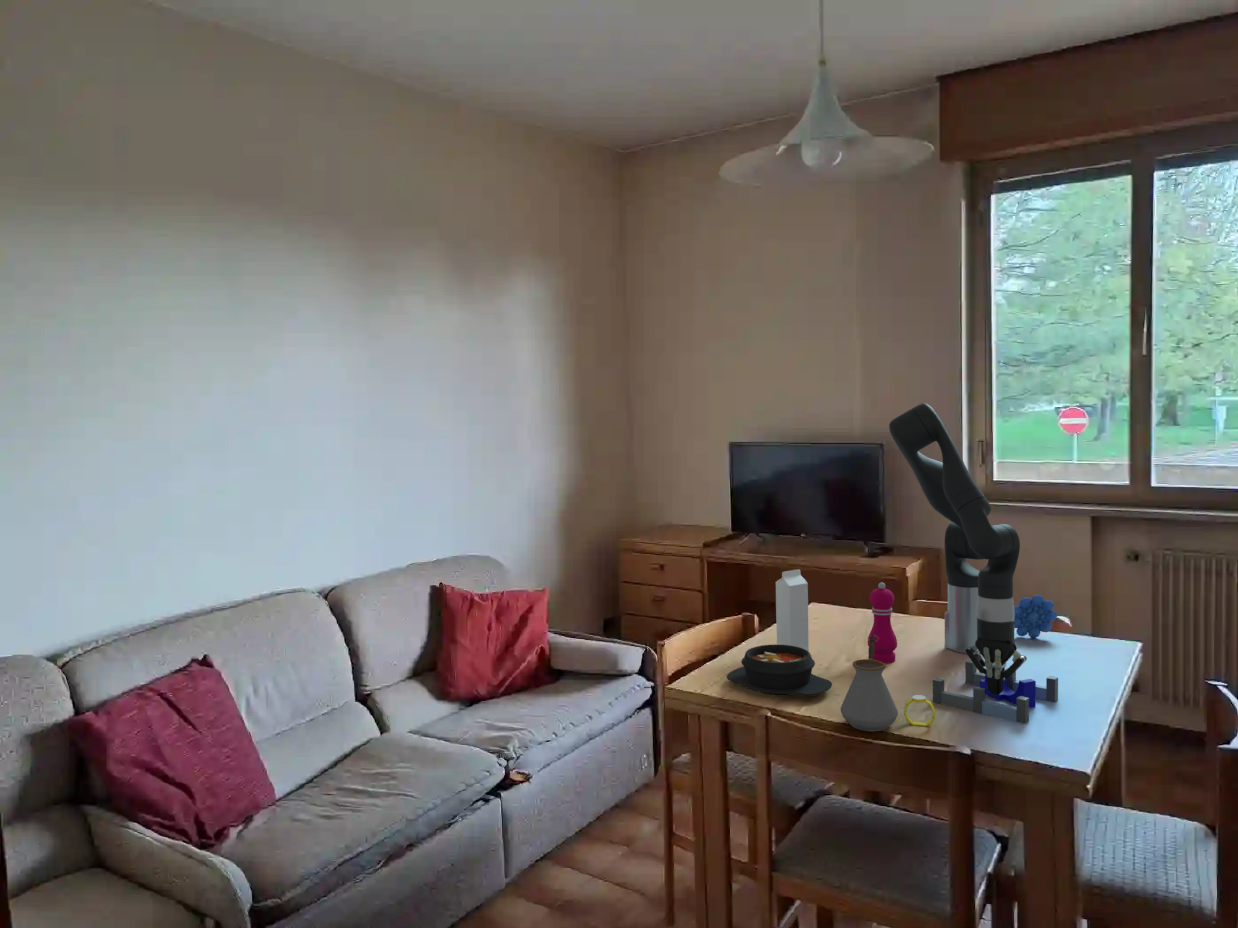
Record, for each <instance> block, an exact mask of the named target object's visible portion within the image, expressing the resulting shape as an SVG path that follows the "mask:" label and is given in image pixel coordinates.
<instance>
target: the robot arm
mask: <svg viewBox="0 0 1238 928" xmlns="http://www.w3.org/2000/svg"><path fill="white" fill-rule="evenodd" d="M888 425H889V426H888V428H889V433H890V435H891V437H892V439H893V440H894V443H895V444H896V446H897V447H898V449H899V450H900V452H901V454H902V455H903V457H904V459H905V460H906V461H907V463H908V465H909V466H910V468H911V470H912V471H913V474H914V475H915V477H916V479H917V481H918V484H919V485H920V487H921V490H922V492H923V494H924V496H925V497H926V500H927V501H928V503H929V505H930V506H931V507H932V508H933V510H935V511H936V512H937V513H939V514H940V515H941V516H943V517H944V518H946V519H947V520H949V521H950V522H951V523H949V524H948V526H947V527H946V530H945V533H944V557H945V558H944V559H945V574H946V577H947V610H946V611H944V648H946V649H949V650H951V651H954V652H956V653H963V654H967V656H968V658H969V660H971V661H972V662H973V663H974V665H975V666H976V670H977V671H978V673H983V674H985V675H987V677H988V690H989V691H990V694H993V695H997V696H998V695H999V694H1000V693H1001V692H1003V679H1004V678H1008V677H1009V676H1011V675H1013V673H1014V672H1015V671H1016V672H1017V671H1018V669H1020V667H1021V666H1022V665H1023V664H1025V662H1026V661H1027V660H1028V657H1027V656H1026V655H1022V654H1021V653H1020V652H1019V651H1018V650H1017V645H1016V644H1015V628H1014V617H1015V612H1014V607H1015V603H1014V574H1015V572H1016V568H1017V564H1018V560H1019V557H1020V556H1019V555H1020V552H1021V551H1020V549H1021V542H1020V537H1019V534H1018V532H1017V531H1016V529H1015V528H1014V527H1012V525H1010V524H1006V523H999V524H992V525H991V523H990V520H989V519H988V516H989V515H990V513H991V511H992V507H991V504H990V502H989V500H988V499H987V498H986V496H985V495H984V492H983V491H982V490H981V488H980V487H979V486H978V485H977V483H976V481H975V480H974V479H973V476H972V475H971V474H970V472H969V470H968V468H967V465H966V464H965V462H964V460H963V458H962V457H961V453H960V452H959V450H958V448H957V447H956V445H955V443H954V441H953V439H952V437H951V435H950V434H949V432H948V430H947V428H946V427H945V424H944V423H943V421H942V419H941V418H940V416H939V415H938V414H937V412H936V411H935V410H934V408H933V407H932V406H931V405H929V404H928V403H925V402H923V403H920V404H918V405H916V406H913V407H912V408H911V409H909V410H906V411H905V412H903V413H901V414H900V415H898V416H897V417H895V418H893V419H891V421H890V422H889V424H888ZM935 442H937V444H938V446H939V448H940V452H941V457H942V458H941V459H942V462H941V461H939V460H936V459H933V458H930V457H928V456H927V455H924V454H923V453H921V452H920V450H922V449H924V448H926V447H927V446H929V445H930V444H933V443H935ZM967 559H969V560H977V561H979V560H988V561H987V564H986V566H985V567H984V568H982V569H981V570H979V569H977V568H975V567H973V566H972V565H971V564H970V563H969V562H968V561H967ZM1011 657H1012V663H1011V665H1010V666H1009V667H1007V668H1008V669H1007V670H1006V671H1005V669H1006V666H1007V662H1008V661H1009V660H1010V659H1011Z"/></svg>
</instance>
